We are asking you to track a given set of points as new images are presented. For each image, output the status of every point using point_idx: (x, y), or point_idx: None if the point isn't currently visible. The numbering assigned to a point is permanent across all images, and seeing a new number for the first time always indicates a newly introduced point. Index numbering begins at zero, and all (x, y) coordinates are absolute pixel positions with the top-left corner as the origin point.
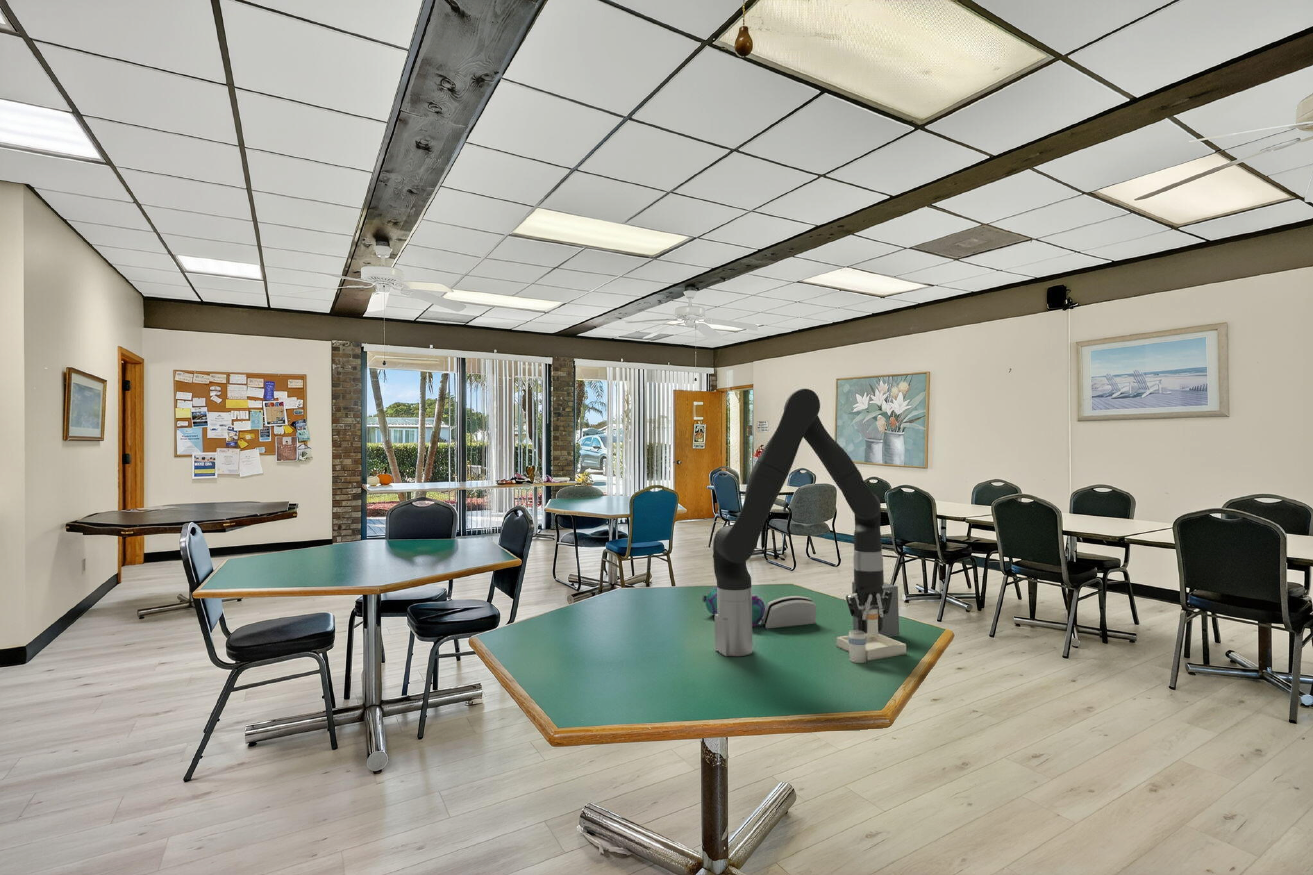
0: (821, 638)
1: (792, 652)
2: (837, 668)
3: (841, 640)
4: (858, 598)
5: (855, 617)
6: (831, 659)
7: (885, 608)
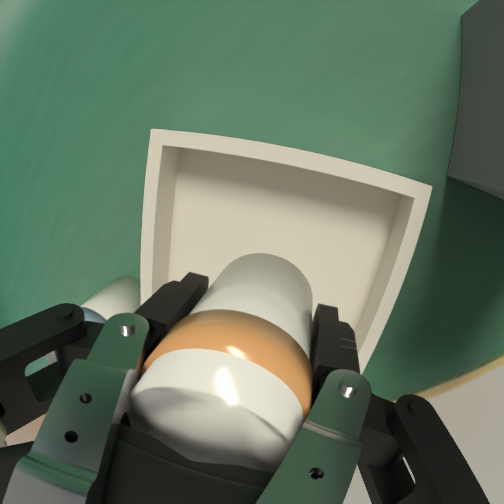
0: (212, 4)
1: (28, 118)
2: (56, 299)
3: (149, 172)
4: (14, 460)
5: (493, 7)
6: (71, 239)
7: (364, 483)
